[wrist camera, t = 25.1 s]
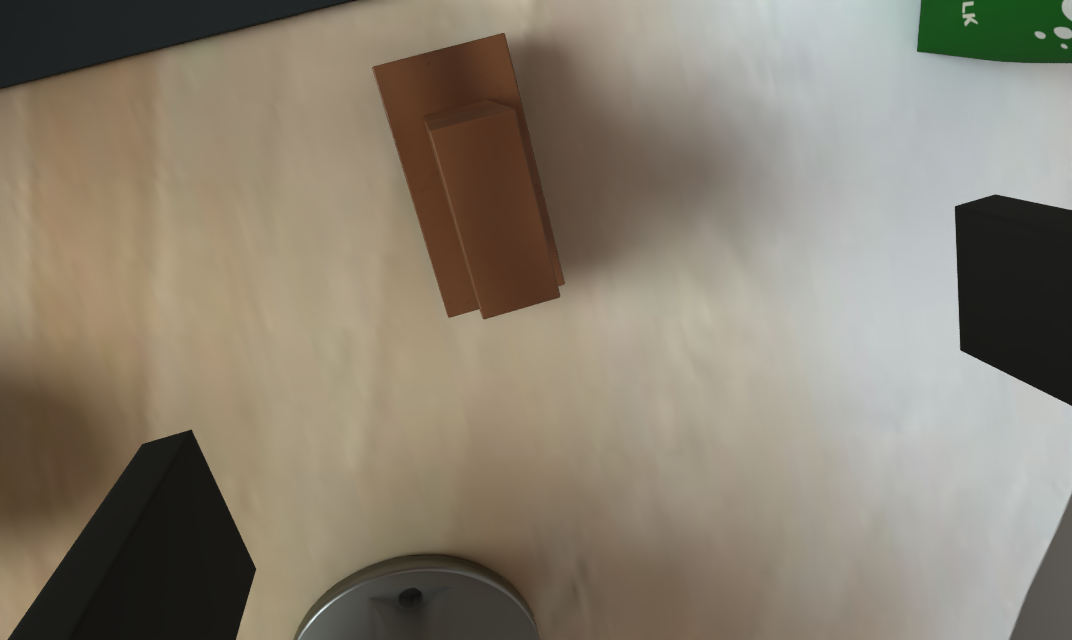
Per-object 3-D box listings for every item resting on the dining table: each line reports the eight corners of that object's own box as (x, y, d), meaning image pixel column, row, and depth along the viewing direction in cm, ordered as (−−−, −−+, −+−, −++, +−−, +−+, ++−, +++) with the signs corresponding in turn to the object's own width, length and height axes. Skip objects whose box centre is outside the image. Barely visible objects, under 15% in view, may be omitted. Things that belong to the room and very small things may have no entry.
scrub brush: (444, 299, 39) (462, 391, 28) (374, 67, 35) (361, 65, 24) (552, 268, 40) (612, 346, 29) (496, 35, 36) (539, 19, 24)
